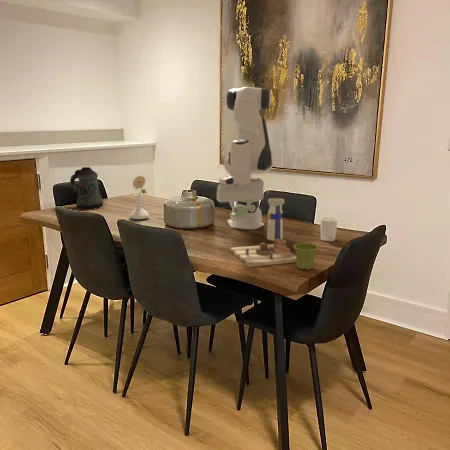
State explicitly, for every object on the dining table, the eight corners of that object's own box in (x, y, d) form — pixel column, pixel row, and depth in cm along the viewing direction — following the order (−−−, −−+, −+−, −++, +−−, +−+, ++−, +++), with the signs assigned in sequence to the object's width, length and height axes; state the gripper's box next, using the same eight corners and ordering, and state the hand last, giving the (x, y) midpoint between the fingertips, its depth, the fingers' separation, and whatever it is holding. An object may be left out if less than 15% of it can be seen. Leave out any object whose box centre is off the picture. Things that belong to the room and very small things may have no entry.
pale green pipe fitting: (230, 216, 196) (230, 205, 195) (244, 215, 198) (244, 204, 197) (235, 219, 190) (235, 207, 189) (249, 218, 192) (250, 207, 191)
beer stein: (103, 209, 284) (101, 168, 278) (71, 210, 279) (67, 169, 273) (103, 203, 300) (101, 165, 294) (72, 205, 295) (69, 166, 289)
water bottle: (269, 241, 216) (271, 189, 210) (263, 236, 224) (264, 186, 218) (285, 240, 218) (288, 188, 212) (279, 235, 226) (281, 185, 220)
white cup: (338, 238, 222) (339, 218, 219) (333, 242, 215) (334, 222, 213) (322, 236, 226) (323, 216, 223) (317, 240, 219) (318, 219, 217)
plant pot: (305, 273, 175) (306, 251, 172) (287, 266, 182) (288, 245, 180) (321, 268, 180) (323, 247, 178) (304, 262, 187) (305, 241, 185)
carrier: (230, 251, 201) (230, 235, 199) (276, 246, 208) (276, 232, 206) (248, 266, 181) (249, 250, 179) (298, 261, 188) (299, 245, 186)
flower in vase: (125, 218, 260) (123, 174, 254) (142, 215, 268) (141, 172, 262) (137, 222, 251) (135, 177, 245) (155, 219, 258) (153, 175, 252)
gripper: (260, 177, 197) (260, 208, 200) (215, 179, 191) (215, 211, 194) (266, 178, 191) (265, 211, 194) (219, 180, 185) (219, 214, 188)
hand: (240, 211), depth 194 cm, fingers closed on pale green pipe fitting, 4 cm apart
